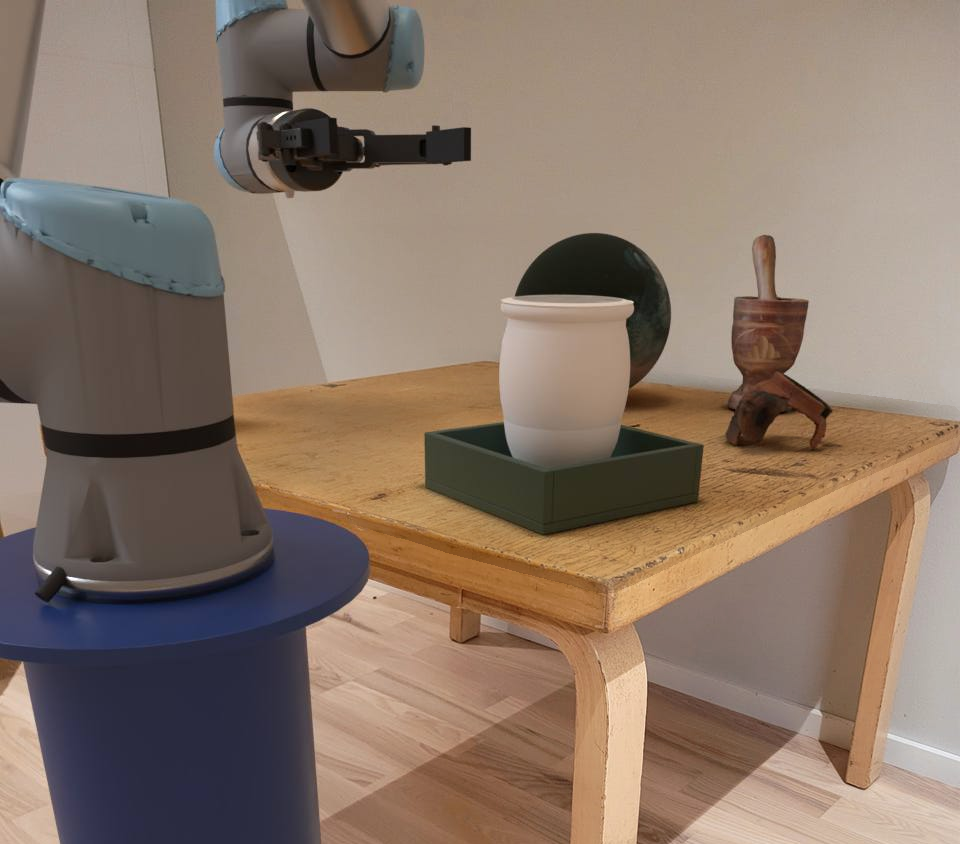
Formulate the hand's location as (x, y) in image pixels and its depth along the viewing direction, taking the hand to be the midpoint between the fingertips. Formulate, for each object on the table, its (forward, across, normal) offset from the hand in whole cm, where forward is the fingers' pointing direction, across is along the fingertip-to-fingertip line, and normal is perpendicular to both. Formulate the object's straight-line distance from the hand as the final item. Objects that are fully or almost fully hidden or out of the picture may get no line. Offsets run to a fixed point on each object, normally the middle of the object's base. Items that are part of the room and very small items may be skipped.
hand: (403, 140), depth 84 cm
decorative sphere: (-15, -36, -28) cm, 48 cm away
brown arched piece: (+16, -34, -28) cm, 47 cm away
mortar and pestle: (0, -50, -28) cm, 57 cm away
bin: (+19, -3, -28) cm, 34 cm away
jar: (+19, -3, -27) cm, 34 cm away
